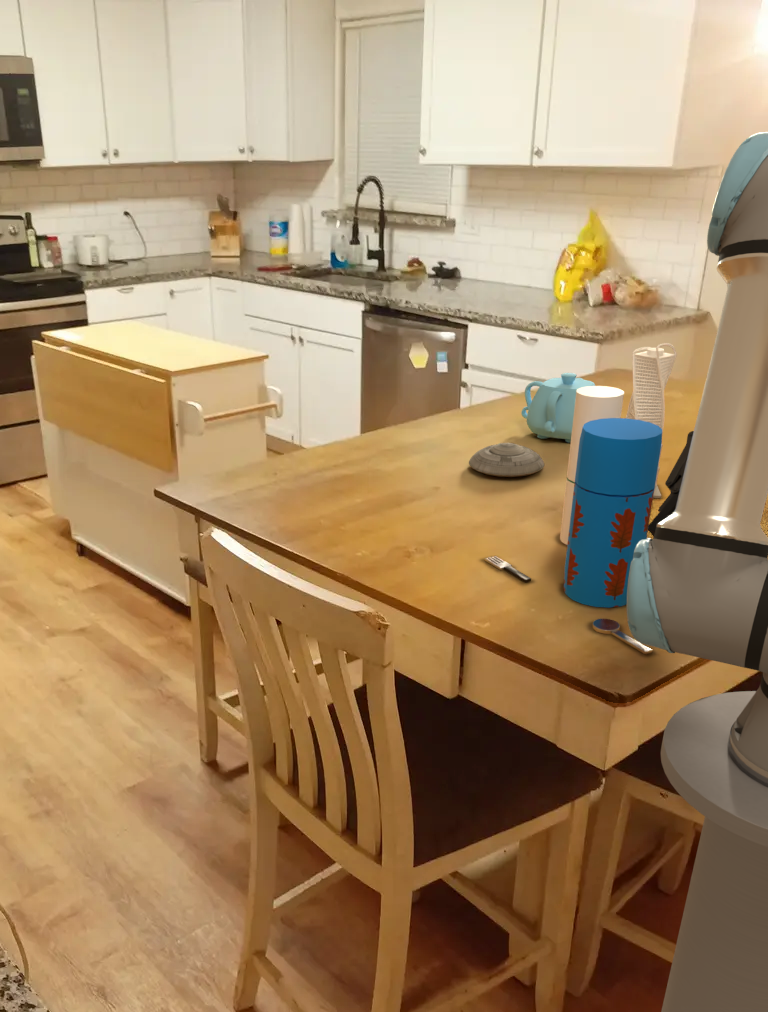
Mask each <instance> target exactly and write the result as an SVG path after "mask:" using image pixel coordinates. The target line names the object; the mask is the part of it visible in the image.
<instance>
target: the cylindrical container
mask: <svg viewBox="0 0 768 1012" xmlns="http://www.w3.org/2000/svg"><path fill="white" fill-rule="evenodd" d="M624 398H625V391H624V390H622V389H621V388H618V387H615V386H607V385H595V386H587V387H581V388H579V389H577V391H576V400H575V409H574V417H573V426H572V435H571V443H570V446H569V452H568V453H569V454H568V462H567V472H566V481H565V488H564V489H565V490H564V498H563V507H562V509H563V510H562V514H561V515H562V516H561V526H560V535H559V541H560V542H561V543H562V544H564V545H566V546H567V544H568V535H569V527H570V518H571V510H572V501H573V492H574V484H575V475H576V467H577V458H578V450H579V441H580V436H581V432H582V428H583V426H584V424H585V423H587V422H589V421H592V420H597V419H606V418H622V412H623V405H624Z"/></svg>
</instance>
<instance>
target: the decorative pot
mask: <svg viewBox="0 0 768 1012" xmlns="http://www.w3.org/2000/svg"><path fill="white" fill-rule="evenodd" d="M587 386H596V384H595V382H593V381H591V380H587V379H584V378H581V377H577V373H575V372H563V373H561V374H560V377H552V378H549V379H547V380H545V381H541V380H535V381H531V382H530V383H528V384H527V385H526V387H525V389H524V398H525V403H526V406H524V407H523V408H522V410H521V416H522V417H523V418H524V419H526V425H527V426H528V429H529V430H530V432H531V433H533V434H535V435H537V437H536V438H537V439H538V438H539V439H542V440H543V439H544V440H545V439H546V440H547V439H549V438H553V439H562V440H564V441H565V442H566V443H570V444H571V435H572V426H573V417H574V409H575V400H576V391H577V389H579V388H581V387H587ZM533 387H538V389H537V390H536V392H535V394H534V395H533V398H532V395H531V389H532V388H533Z"/></svg>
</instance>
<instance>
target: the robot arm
mask: <svg viewBox="0 0 768 1012" xmlns="http://www.w3.org/2000/svg"><path fill="white" fill-rule="evenodd" d="M716 193H717V194H716V196H715V199H714V202H713V205H712V208H711V209H712V210H711V218H710V221H709V223H708V224H709V225H708V229H707V237H706V244H707V250H708V251H709V252H710V253H711V254H713V255H715V256H717V257H718V259H717V263H716V264H717V265H716V271H717V272H718V274H719V275H720V277H721V278H722V280H723V281H724V282H725V283H726V286H727V289H726V294H725V298H724V302H723V307H722V311H721V314H720V319H719V323H718V327H717V331H716V336H715V339H714V344H713V348H712V352H711V357H710V361H709V366H708V369H707V374H706V378H705V382H704V386H703V390H702V395H701V400H700V404H699V406H698V412H697V416H696V420H695V424H694V428H693V430H692V431H690V432H688V433H687V436H686V443H685V445H684V447H683V449H682V451H681V453H680V455H679V457H678V459H677V460H676V462H675V464H674V466H673V468H672V470H671V471H670V473H669V475H668V477H667V479H666V480H665V483H664V484H665V486H666V488H667V489H668V490H669V491H670V492H669V493H670V494H669V495H668V496H667V497H666V498H665V500H664V501H663V502H662V503H661V505H660V506H659V508H658V509H657V511H658V513H657V514H656V515H655V517H654V518H652V520H651V522H649V526H648V532H649V533H650V534H651V536H652V537H653V538H650V537H647V539H644V540H640V541H639V542H638V543H637V545H636V547H635V550H634V554H633V560H632V561H631V565H630V571H629V578H628V588H627V605H626V618H627V626H628V629H629V632H630V634H631V637H632V638H633V639H635V640H636V641H638V642H640V643H641V644H643V645H645V646H650V647H653V648H657V649H659V650H664V651H666V652H667V653H668V654H675V653H678V654H681V655H686V656H691V657H696V658H699V659H705V660H709V661H713V662H717V663H723V664H726V665H731V666H736V667H740V668H744V669H749V670H753V671H758V672H761V673H762V675H761V678H760V683H759V687H758V688H757V690H755V691H756V693H755V694H754V695H753V697H752V698H751V700H750V701H749V702H748V704H747V705H746V707H745V708H744V709H743V711H742V712H741V714H740V715H739V716H738V718H737V719H736V721H735V722H734V723H733V725H732V727H731V731H730V735H729V740H728V745H727V748H728V752H729V755H730V757H731V759H732V761H733V762H734V763H735V764H736V766H737V767H738V768H739V769H740V770H741V771H742V772H744V773H745V774H746V775H747V776H749V777H750V778H752V779H753V780H755V781H757V782H758V783H760V784H762V785H764V786H766V787H768V536H767V534H766V533H765V532H764V530H763V529H762V525H761V523H762V518H763V514H764V510H765V506H766V503H767V498H768V131H765V132H763V131H762V132H757V133H754V134H752V135H749V137H747V138H746V139H745V140H743V141H742V142H741V144H740V145H739V146H738V148H736V150H735V152H734V153H733V155H732V157H731V159H730V161H729V162H728V165H727V166H726V169H725V171H724V174H723V176H722V178H721V181H720V184H719V187H718V189H717V192H716Z"/></svg>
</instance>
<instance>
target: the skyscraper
mask: <svg viewBox="0 0 768 1012" xmlns="http://www.w3.org/2000/svg"><path fill="white" fill-rule="evenodd" d="M662 347H670V348H671V349H672V351H673V353H669V352H665V349H664V348H662ZM644 350H646V351H644ZM639 351H642V352H639ZM677 356H678V354H677V350H676V348H675V346H674V345H673V344H672V343H669V342H663V343H659V344H657V346H655V347H652V346H641V347H637V348H636V349H634V350H633V351H632V393H631V396H630V400H629V403H628V407H627V410H626V411H627V412H626V415H625V418H627V419H635V420H641V421H646V422H650V423H653V424H655V425H657V426H659V427H660V428H661V429H662V435H663V433H664V426H665V416H666V415H665V414H666V413H665V411H666V403H665V401H666V400H665V389H666V388H667V384H668V381H669V380H670V379H669V378H670V376H671V373H672V370H673V367H674V364H675V362H676V360H677V359H676V358H677ZM662 451H663V443H662V444H661V451H660V457H659V463H658V470H657V476H656V482H655V488H654V495H653V499H662V494H661V491H660V489H659V486H658V479H659V473H660V468H661V467H660V462H661V461H660V460H661V457H662Z"/></svg>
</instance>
